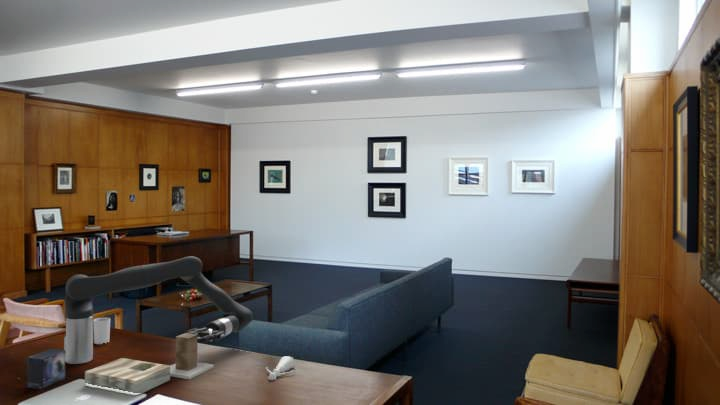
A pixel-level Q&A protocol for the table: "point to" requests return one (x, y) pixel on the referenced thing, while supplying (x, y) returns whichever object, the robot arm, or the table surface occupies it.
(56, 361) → the small box
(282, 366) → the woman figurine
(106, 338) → the drinking glass
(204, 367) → the grey pad
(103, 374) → the slotted wooden base
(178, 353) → the brown wooden block
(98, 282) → the robot arm
